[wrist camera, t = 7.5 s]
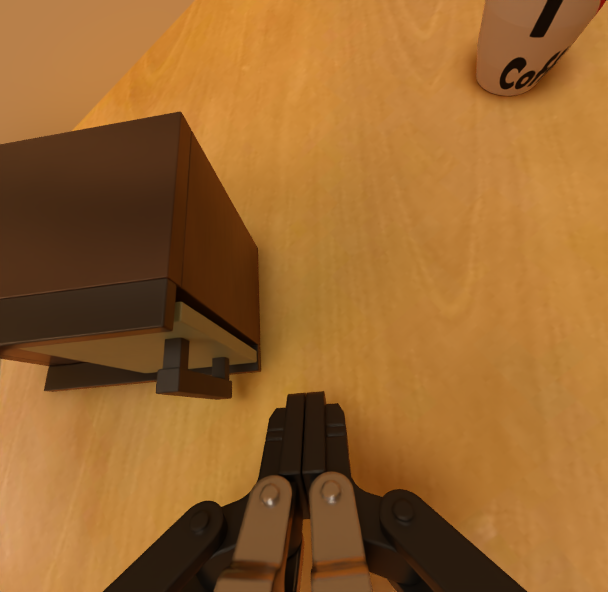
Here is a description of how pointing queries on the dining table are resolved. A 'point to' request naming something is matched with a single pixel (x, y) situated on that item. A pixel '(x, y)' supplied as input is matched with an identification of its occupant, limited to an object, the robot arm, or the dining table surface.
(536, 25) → the cup
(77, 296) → the cabinet
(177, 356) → the door
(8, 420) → the dining table surface
